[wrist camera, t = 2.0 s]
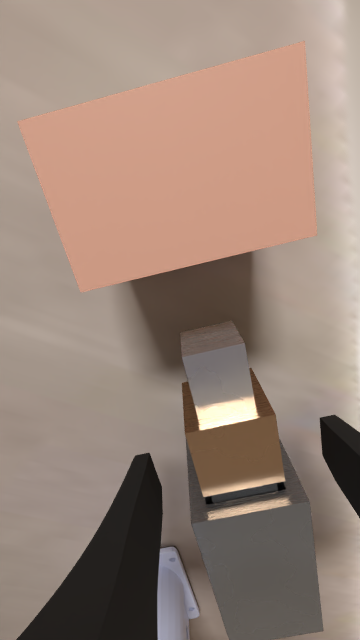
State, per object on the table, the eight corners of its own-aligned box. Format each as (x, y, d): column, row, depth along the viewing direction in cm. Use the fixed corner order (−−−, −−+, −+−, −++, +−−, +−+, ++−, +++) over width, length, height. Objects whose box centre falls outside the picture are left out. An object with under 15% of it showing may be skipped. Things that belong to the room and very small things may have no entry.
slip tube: (280, 540, 19) (303, 610, 16) (227, 550, 19) (239, 621, 16) (241, 313, 13) (265, 346, 10) (167, 330, 14) (166, 368, 10)
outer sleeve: (277, 505, 22) (323, 631, 15) (213, 517, 22) (231, 646, 15) (260, 398, 18) (309, 501, 12) (184, 414, 19) (191, 524, 12)
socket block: (251, 225, 15) (317, 234, 8) (120, 257, 15) (80, 292, 8) (237, 127, 13) (304, 41, 7) (92, 166, 13) (17, 121, 7)
